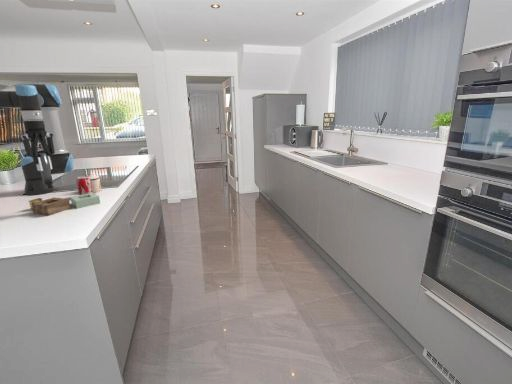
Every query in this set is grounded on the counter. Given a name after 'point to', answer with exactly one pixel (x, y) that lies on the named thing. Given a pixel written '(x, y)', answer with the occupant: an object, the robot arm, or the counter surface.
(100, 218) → the counter surface
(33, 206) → the socket block
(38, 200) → the tan t-shaped block
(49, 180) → the dark grey peg
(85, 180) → the soda can
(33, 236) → the counter surface
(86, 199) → the green square frame
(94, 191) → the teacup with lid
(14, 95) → the robot arm
